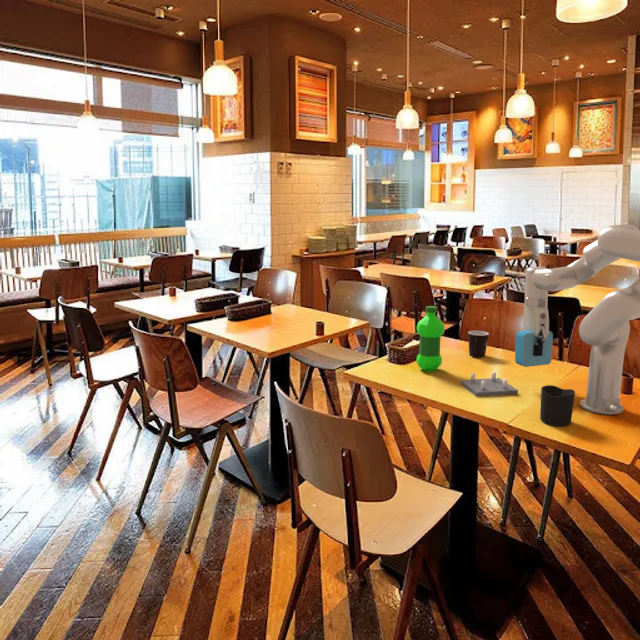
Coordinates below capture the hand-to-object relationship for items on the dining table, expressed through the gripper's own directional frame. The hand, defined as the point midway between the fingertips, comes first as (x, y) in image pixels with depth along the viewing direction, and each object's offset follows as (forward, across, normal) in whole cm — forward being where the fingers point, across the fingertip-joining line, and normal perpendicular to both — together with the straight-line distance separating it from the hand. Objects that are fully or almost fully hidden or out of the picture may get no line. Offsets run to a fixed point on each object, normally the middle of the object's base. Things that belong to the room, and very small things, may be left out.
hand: (533, 353), depth 209 cm
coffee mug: (+11, +42, +3) cm, 44 cm away
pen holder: (+14, -31, +10) cm, 35 cm away
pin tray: (+12, +1, +16) cm, 20 cm away
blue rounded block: (+4, 0, 0) cm, 4 cm away
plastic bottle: (+11, +27, +29) cm, 41 cm away
